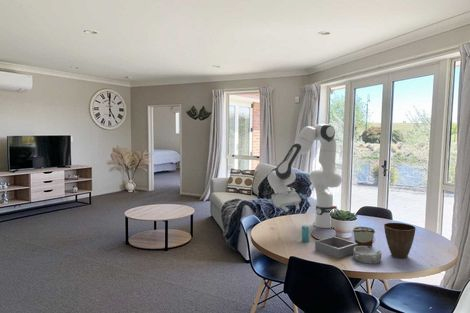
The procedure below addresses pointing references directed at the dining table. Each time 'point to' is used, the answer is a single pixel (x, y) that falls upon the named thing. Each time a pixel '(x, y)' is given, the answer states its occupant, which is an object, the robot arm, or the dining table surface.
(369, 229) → the food container
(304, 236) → the teal upright cylinder
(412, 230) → the plant pot
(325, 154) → the robot arm
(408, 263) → the dining table surface
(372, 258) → the dish
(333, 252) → the shallow grey tray
